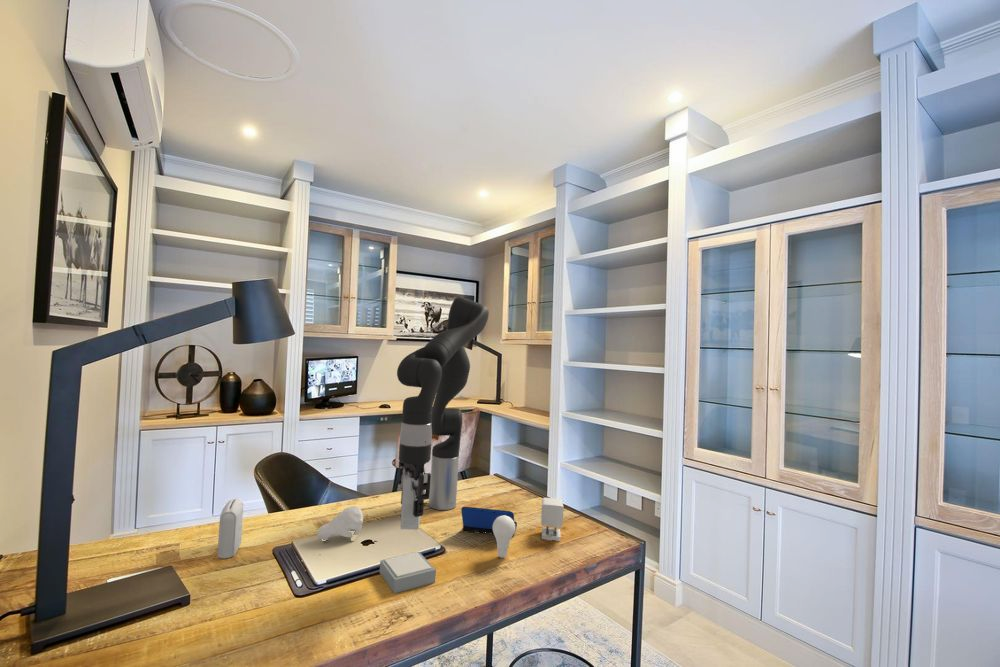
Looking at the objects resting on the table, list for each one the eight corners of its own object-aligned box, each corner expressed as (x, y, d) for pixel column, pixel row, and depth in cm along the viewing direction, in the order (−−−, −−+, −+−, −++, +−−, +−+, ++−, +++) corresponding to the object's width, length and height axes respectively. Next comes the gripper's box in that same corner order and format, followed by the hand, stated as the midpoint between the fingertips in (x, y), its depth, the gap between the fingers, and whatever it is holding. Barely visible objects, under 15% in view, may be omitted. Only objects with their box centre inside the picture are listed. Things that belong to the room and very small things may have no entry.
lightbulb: (516, 555, 123) (518, 514, 123) (509, 565, 117) (512, 522, 117) (495, 550, 125) (497, 510, 125) (487, 560, 119) (489, 518, 119)
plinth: (379, 572, 110) (380, 559, 110) (418, 563, 115) (419, 550, 115) (394, 593, 101) (395, 578, 101) (435, 582, 107) (435, 568, 107)
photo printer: (224, 541, 121) (227, 495, 121) (242, 540, 122) (245, 494, 122) (215, 560, 111) (218, 509, 111) (234, 558, 112) (238, 508, 112)
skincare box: (403, 519, 111) (406, 470, 111) (420, 519, 111) (423, 470, 112) (399, 529, 105) (402, 478, 105) (418, 530, 105) (421, 478, 106)
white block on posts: (561, 531, 140) (562, 499, 140) (561, 541, 133) (563, 507, 133) (540, 529, 140) (542, 497, 140) (540, 539, 133) (542, 505, 133)
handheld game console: (517, 525, 143) (519, 496, 143) (512, 544, 129) (514, 512, 129) (468, 520, 145) (470, 491, 145) (458, 537, 132) (460, 505, 132)
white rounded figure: (364, 509, 126) (317, 519, 120) (365, 539, 126) (319, 550, 120) (360, 501, 131) (315, 510, 126) (361, 530, 131) (316, 540, 126)
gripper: (443, 446, 105) (438, 518, 104) (418, 433, 117) (414, 498, 116) (412, 449, 100) (408, 524, 100) (390, 435, 112) (386, 502, 112)
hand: (411, 510), depth 108 cm, fingers closed on skincare box, 7 cm apart
